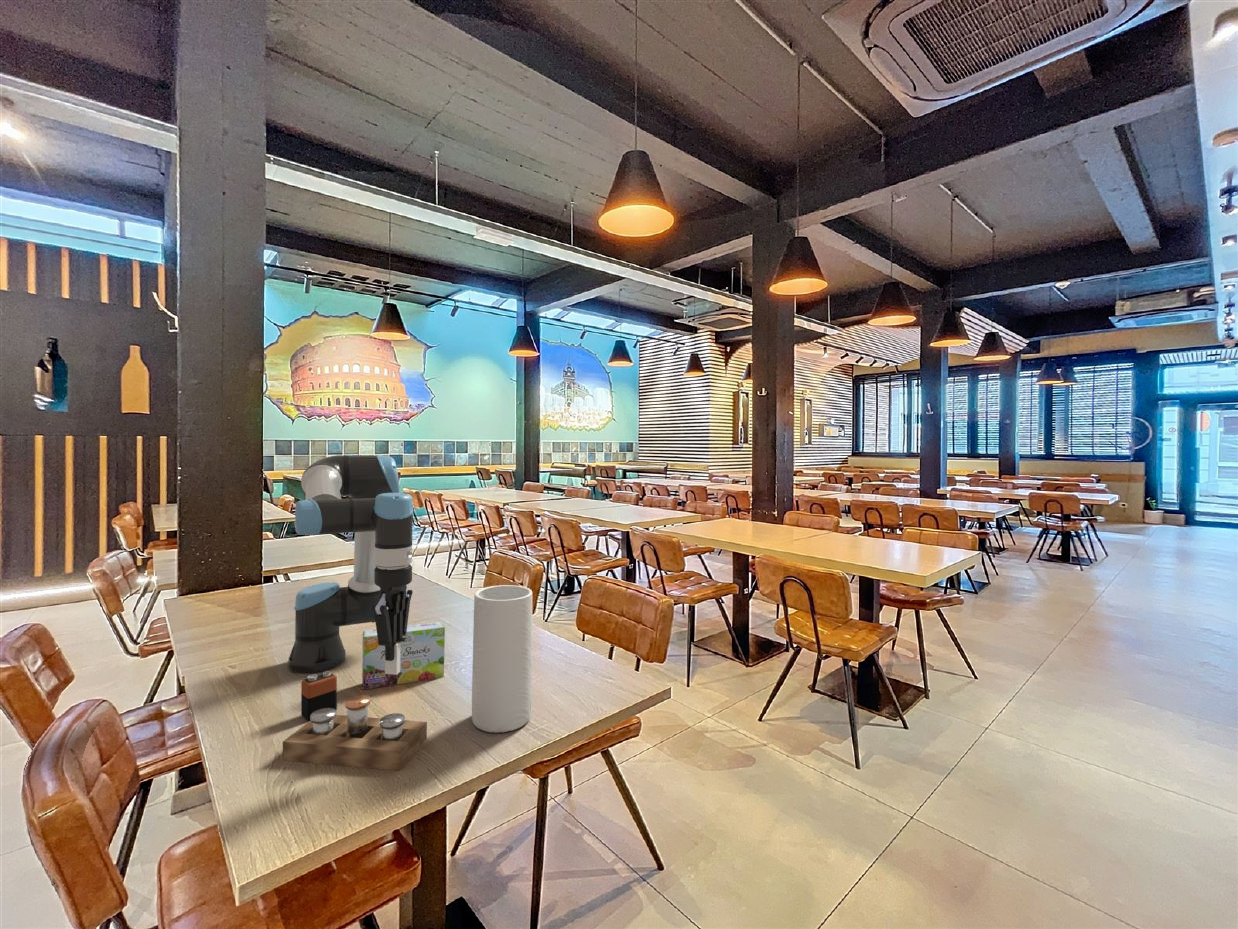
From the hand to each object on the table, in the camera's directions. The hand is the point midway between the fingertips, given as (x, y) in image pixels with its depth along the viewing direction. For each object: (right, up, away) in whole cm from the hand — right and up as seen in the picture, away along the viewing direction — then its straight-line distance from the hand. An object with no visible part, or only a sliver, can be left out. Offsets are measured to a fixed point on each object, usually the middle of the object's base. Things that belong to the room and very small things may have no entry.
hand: (392, 672), depth 118 cm
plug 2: (0, -17, 0) cm, 17 cm away
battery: (-25, -17, +16) cm, 34 cm away
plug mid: (-8, -13, +1) cm, 15 cm away
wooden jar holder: (-8, -17, +1) cm, 19 cm away
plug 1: (-16, -16, +2) cm, 23 cm away
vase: (+20, -18, +15) cm, 31 cm away
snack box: (-12, -16, +36) cm, 41 cm away
